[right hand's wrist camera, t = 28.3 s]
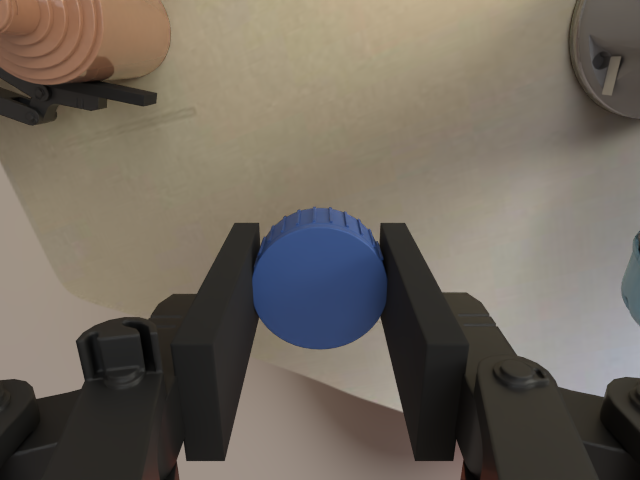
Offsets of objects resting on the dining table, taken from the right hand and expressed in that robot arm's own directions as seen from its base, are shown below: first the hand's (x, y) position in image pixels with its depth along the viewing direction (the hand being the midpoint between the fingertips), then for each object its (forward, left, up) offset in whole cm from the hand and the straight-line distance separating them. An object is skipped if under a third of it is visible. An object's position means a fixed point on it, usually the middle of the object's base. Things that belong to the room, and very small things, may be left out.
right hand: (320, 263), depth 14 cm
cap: (0, 0, +2) cm, 2 cm away
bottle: (-3, -18, -28) cm, 34 cm away
